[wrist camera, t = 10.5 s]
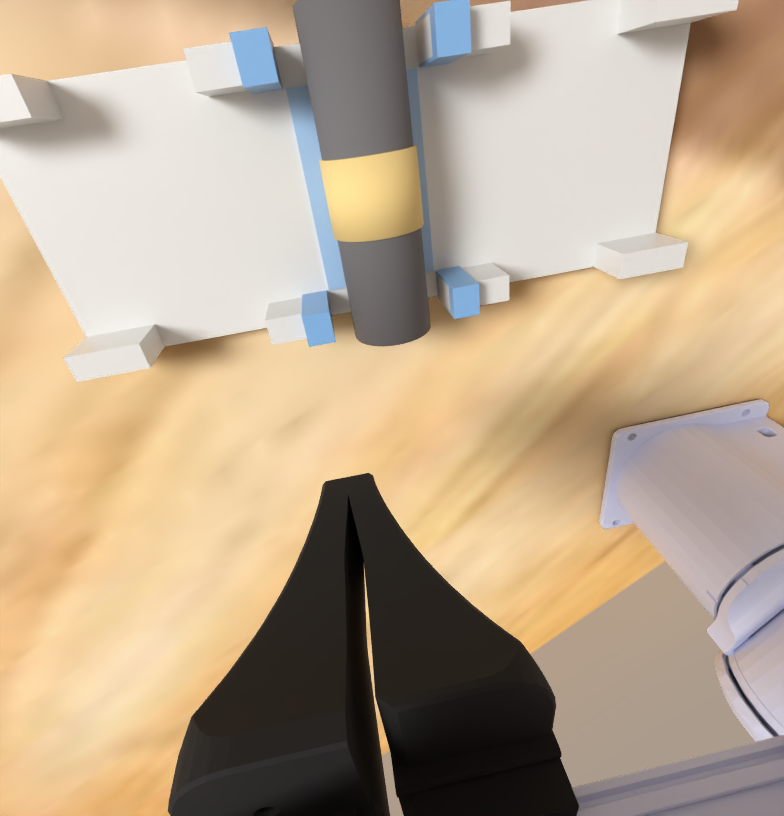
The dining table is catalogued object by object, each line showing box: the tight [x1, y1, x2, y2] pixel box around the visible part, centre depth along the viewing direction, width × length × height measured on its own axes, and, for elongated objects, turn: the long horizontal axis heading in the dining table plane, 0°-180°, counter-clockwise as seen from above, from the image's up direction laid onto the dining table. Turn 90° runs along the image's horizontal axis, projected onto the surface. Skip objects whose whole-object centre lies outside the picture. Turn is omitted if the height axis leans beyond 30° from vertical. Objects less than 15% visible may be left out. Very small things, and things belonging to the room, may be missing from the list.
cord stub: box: [293, 0, 431, 346], centre depth 15 cm, size 10×3×3 cm, turn 8°
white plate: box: [0, 0, 739, 382], centre depth 16 cm, size 24×9×4 cm, turn 98°
